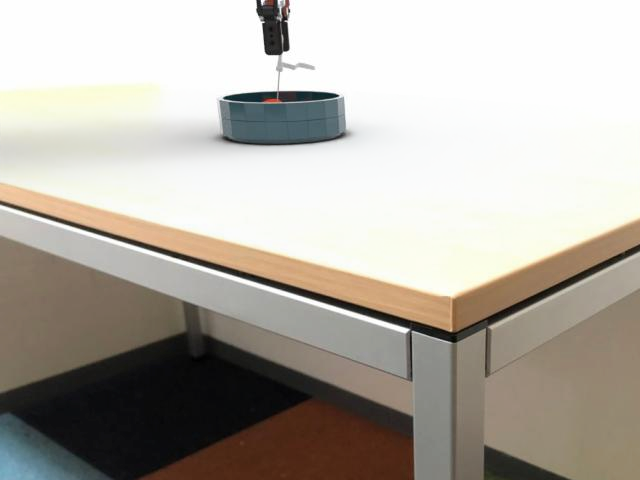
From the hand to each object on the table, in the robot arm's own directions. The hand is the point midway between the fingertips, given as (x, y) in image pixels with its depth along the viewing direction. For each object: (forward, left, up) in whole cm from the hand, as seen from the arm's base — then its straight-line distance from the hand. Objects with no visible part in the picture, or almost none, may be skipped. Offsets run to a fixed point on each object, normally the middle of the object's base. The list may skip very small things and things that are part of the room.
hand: (278, 53), depth 96 cm
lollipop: (0, -1, -10) cm, 10 cm away
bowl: (0, 0, -10) cm, 10 cm away
